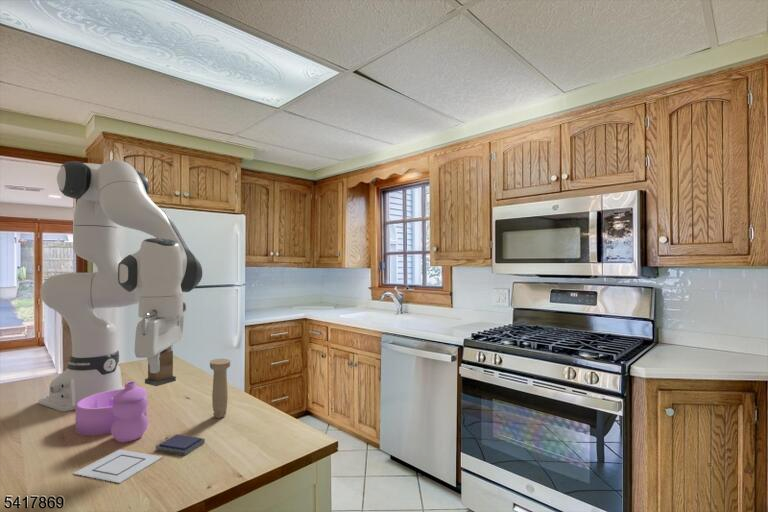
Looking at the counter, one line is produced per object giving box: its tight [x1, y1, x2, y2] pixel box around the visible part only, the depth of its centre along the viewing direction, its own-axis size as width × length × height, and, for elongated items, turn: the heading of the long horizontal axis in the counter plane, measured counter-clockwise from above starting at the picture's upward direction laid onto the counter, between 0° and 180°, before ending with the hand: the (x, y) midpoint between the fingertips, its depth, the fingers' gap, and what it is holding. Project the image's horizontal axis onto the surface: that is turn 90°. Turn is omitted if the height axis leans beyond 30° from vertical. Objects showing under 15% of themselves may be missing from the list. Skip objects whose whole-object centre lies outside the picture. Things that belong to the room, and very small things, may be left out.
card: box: [72, 449, 163, 484], centre depth 80 cm, size 12×10×1 cm
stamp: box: [144, 350, 177, 387], centre depth 88 cm, size 4×4×7 cm
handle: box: [209, 358, 231, 419], centre depth 105 cm, size 5×6×15 cm
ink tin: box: [155, 434, 206, 457], centre depth 88 cm, size 8×6×1 cm
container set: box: [75, 381, 149, 443], centre depth 99 cm, size 25×15×13 cm, turn 50°
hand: (160, 368), depth 88 cm, fingers closed on stamp, 5 cm apart
